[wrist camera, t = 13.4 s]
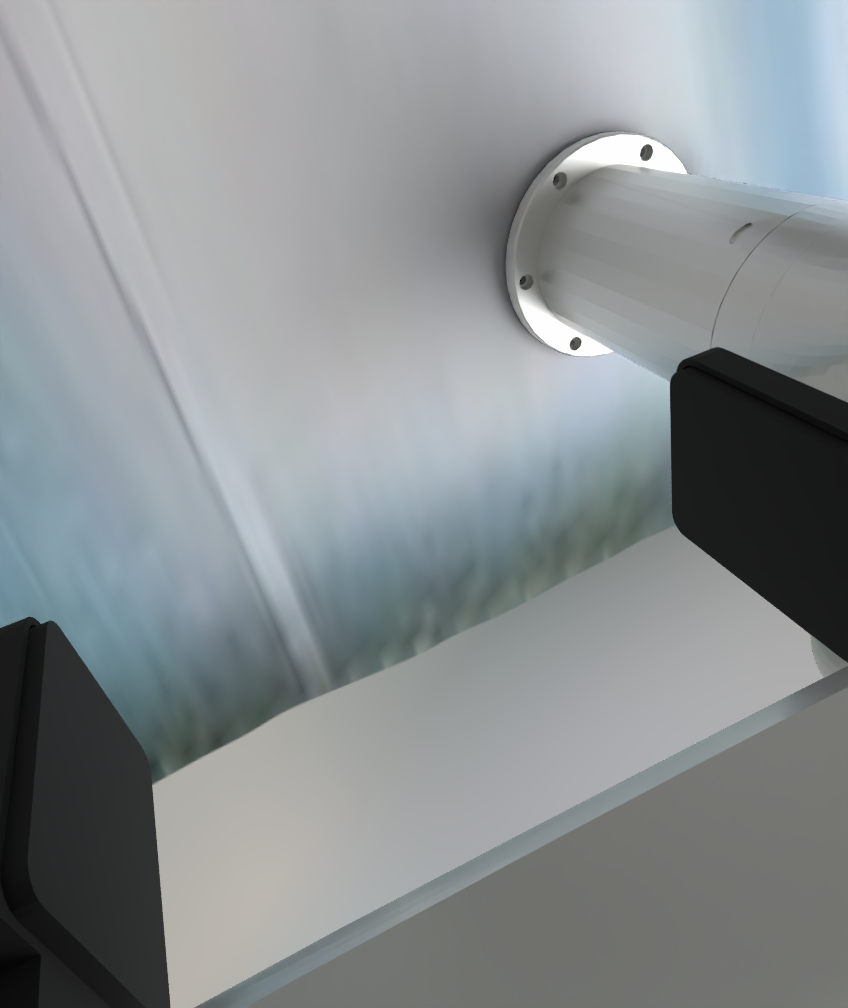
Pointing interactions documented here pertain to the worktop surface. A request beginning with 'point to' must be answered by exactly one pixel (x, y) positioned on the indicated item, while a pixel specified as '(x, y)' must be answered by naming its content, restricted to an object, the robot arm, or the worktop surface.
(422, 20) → the worktop surface
